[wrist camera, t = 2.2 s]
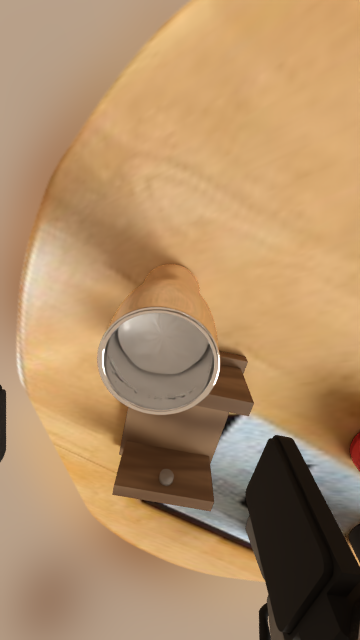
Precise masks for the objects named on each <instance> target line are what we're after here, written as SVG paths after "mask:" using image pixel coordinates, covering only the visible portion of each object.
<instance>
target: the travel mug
mask: <svg viewBox="0 0 360 640" xmlns="http://www.w3.org/2000/svg"><path fill="white" fill-rule="evenodd" d="M349 540H350V543H351V545H352V548H353V550H354V552H355V554H356V556H357V558H358V560H359V562H360V524H359V525H358V526H356V527H355V528H354V529H353V530H352V531H351V533H350V535H349Z"/></svg>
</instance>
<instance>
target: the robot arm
mask: <svg viewBox="0 0 360 640" xmlns="http://www.w3.org/2000/svg"><path fill="white" fill-rule="evenodd" d="M5 451H6V391H5V390H3V389H2V386H1V385H0V462H1V460H2V459H3V456H4V454H5ZM246 502H247V506H248V510H249V514H250V519H251V523H252V527H253V531H254V535H255V540H256V544H257V548H258V552H259V556H260V561H261V565H262V569H263V573H264V577H265V581H266V586H267V590H268V594H269V598H270V602H271V607H272V611H273V615H274V619H275V623H276V626H277V628H278V630H279V631H280V632H283V636H284V640H360V566H359V565H358V563H357V561H356V559H355V557H354V555H353V553H352V551H351V549H350V547H349V545H348V543H347V542H346V540H345V538H344V536H343V534H342V532H341V530H340V528H339V526H338V524H337V522H336V520H335V518H334V517H333V515H332V513H331V511H330V509H329V507H328V505H327V503H326V501H325V499H324V497H323V495H322V494H321V492H320V490H319V488H318V486H317V484H316V482H315V480H314V478H313V476H312V474H311V472H310V470H309V469H308V467H307V465H306V463H305V461H304V459H303V457H302V455H301V453H300V451H299V449H298V447H297V446H296V444H295V442H294V440H293V439H292V438H290V437H284V436H279V435H275V436H274V437H273V438H270V439H269V440H268V442H267V444H266V446H265V448H264V451H263V453H262V455H261V457H260V460H259V462H258V464H257V466H256V468H255V471H254V473H253V475H252V477H251V480H250V482H249V484H248V486H247V489H246Z"/></svg>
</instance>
